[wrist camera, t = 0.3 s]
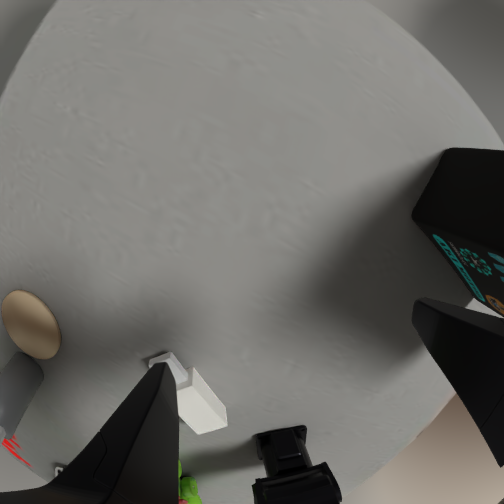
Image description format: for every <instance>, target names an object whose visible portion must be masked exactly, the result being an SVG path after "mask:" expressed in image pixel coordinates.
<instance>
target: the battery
mask: <svg viewBox="0 0 504 504" xmlns="http://www.w3.org/2000/svg"><path fill="white" fill-rule="evenodd" d="M412 218H413V220H414V221H415V222H416V224H417V225H418V226H419V227H420V228H421V229H422V230H423V232H424V233H425V234H426V235H427V236H428V237H429V239H430V240H431V241H432V242H433V243H434V245H435V246H436V247H437V248H438V249H439V251H440V252H441V253H442V254H443V256H444V257H445V258H446V259H447V261H448V262H449V263H450V265H451V266H452V267H453V269H454V270H455V271H456V273H457V274H458V275H459V277H460V278H461V279H462V281H463V282H464V283H465V285H466V286H467V288H468V289H469V291H470V292H471V293H472V295H473V296H474V298H475V299H476V300H477V301H479V302H481V303H482V304H484V305H485V306H487V307H488V308H490V309H492V310H493V311H495V312H496V313H498V314H499V315H501V316H502V317H504V151H503V150H491V149H476V148H449V149H447V150H446V151H445V153H444V154H443V156H442V158H441V160H440V162H439V164H438V166H437V168H436V170H435V171H434V173H433V175H432V177H431V179H430V181H429V183H428V184H427V186H426V188H425V190H424V191H423V193H422V195H421V197H420V198H419V200H418V202H417V204H416V206H415V207H414V210H413V212H412Z"/></svg>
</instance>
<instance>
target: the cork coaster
mask: <svg viewBox="0 0 504 504" xmlns="http://www.w3.org/2000/svg"><path fill="white" fill-rule="evenodd" d="M2 318H3V322H4V325H5V328H6V330H7V332H8V334H9V335H10V337H11V338H12V340H13V341H14V342H15V344H16V345H17V346H18V347H19V348H20V349H21V350H23V351H24V352H25V353H27V354H28V355H30V356H32V357H35V358H38V359H49V358H52V357H53V356H54V355H55V354H56V353H57V351H58V349H59V348H60V344H61V333H60V329H59V326H58V323H57V321H56V319H55V317H54V315H53V314H52V312H51V311H50V309H49V308H48V307H47V306H46V304H45V303H44V302H43V301H42V300H41V299H39V298H38V297H37V296H35V295H34V294H32V293H30V292H28V291H25V290H15V291H12V292H11V293H10V294H8V295H7V296H6V297H5V299H4V301H3V303H2Z"/></svg>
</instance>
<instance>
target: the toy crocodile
mask: <svg viewBox="0 0 504 504" xmlns="http://www.w3.org/2000/svg"><path fill="white" fill-rule="evenodd" d="M181 474H182V467H181V463H180V460H179V477H180V476H181ZM197 493H198V489H197V484H196V481H195V479H194V478H193V477H183V478H182V481H181V480H180V478H179V504H202V501H201V499H200V497H199V496H198V495H197Z"/></svg>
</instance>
